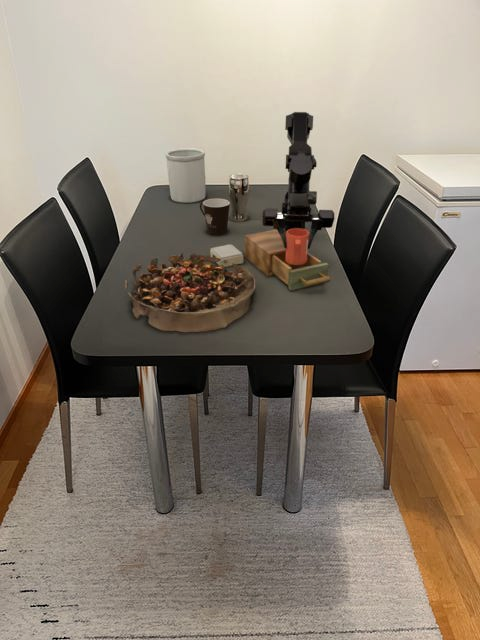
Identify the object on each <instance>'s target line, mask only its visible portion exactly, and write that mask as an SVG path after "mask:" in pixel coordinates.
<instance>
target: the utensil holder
mask: <svg viewBox="0 0 480 640" xmlns="http://www.w3.org/2000/svg"><path fill="white" fill-rule="evenodd" d="M205 156H206V152H205V150H204V149H201V148H198V147H179V148H173V149H169V150H167V151H166V152H165V158H166V165H167V166H166V167H167V175H168V185H169V194H170V199H171V200H172V201H173V202H176V203H182V204H183V203H184V204H189V203H196V202H202V201H203V200H205V198H206V196H207V195H206V162H205Z"/></svg>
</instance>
